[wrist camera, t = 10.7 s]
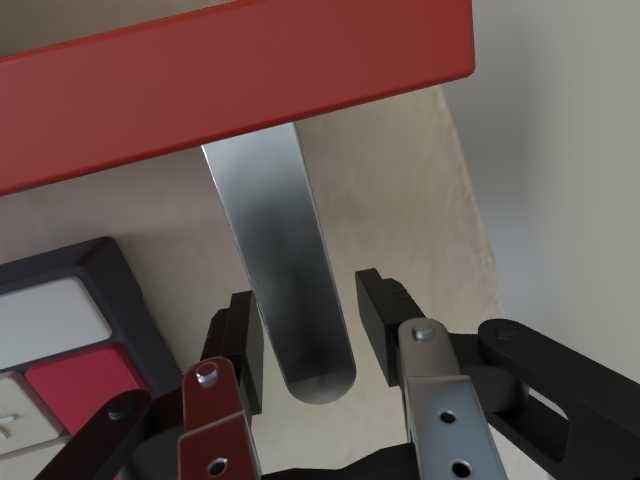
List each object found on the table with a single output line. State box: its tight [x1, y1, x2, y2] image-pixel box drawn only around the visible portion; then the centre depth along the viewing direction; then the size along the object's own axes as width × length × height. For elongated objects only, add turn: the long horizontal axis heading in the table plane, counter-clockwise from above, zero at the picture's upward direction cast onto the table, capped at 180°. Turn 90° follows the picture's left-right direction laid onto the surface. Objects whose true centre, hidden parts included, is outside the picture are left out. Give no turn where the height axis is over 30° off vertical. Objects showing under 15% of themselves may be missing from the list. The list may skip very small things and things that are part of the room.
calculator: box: [0, 237, 183, 480], centre depth 21 cm, size 11×4×15 cm
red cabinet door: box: [0, 0, 475, 404], centre depth 11 cm, size 7×16×17 cm, turn 103°
